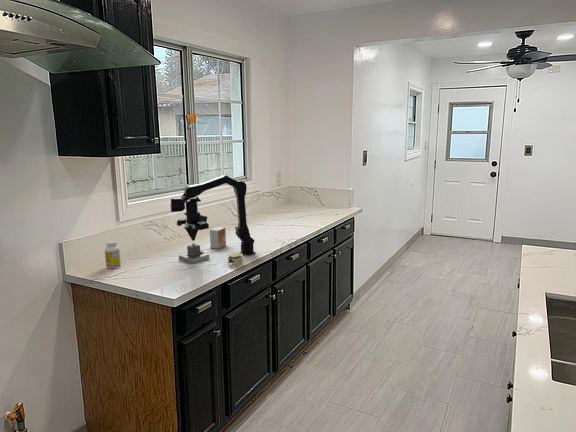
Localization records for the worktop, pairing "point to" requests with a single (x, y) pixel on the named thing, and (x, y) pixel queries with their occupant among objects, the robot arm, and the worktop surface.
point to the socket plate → (194, 258)
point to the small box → (217, 237)
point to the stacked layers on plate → (235, 259)
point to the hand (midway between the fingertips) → (193, 240)
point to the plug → (193, 250)
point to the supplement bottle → (112, 255)
